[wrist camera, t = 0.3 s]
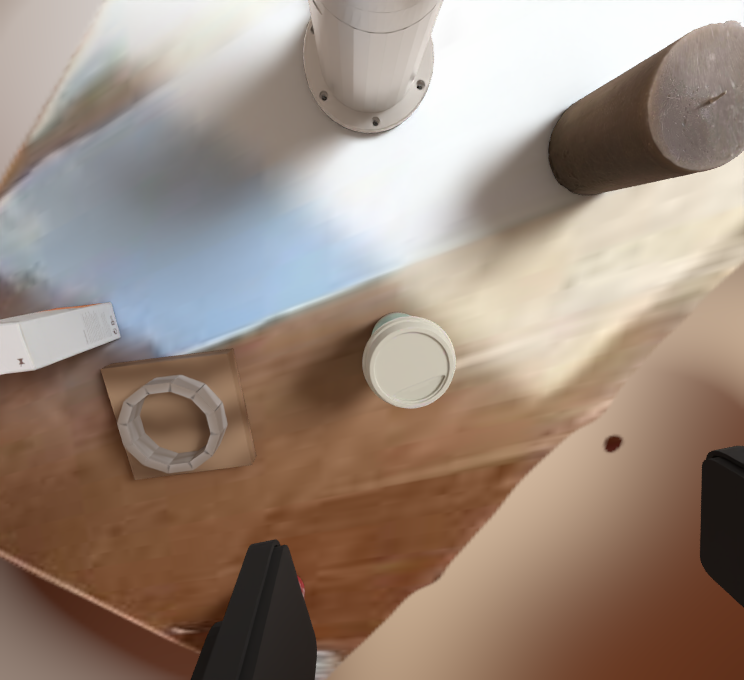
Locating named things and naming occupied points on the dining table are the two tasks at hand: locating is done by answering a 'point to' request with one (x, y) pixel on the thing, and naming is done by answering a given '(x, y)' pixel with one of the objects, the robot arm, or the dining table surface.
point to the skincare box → (54, 335)
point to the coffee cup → (408, 360)
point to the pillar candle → (657, 117)
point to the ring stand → (180, 413)
